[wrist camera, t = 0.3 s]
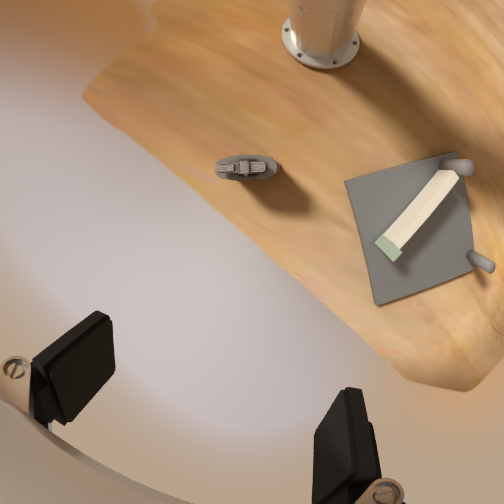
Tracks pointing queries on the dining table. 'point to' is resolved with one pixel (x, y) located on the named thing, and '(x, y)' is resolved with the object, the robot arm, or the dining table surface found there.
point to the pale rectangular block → (416, 213)
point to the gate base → (428, 234)
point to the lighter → (247, 167)
